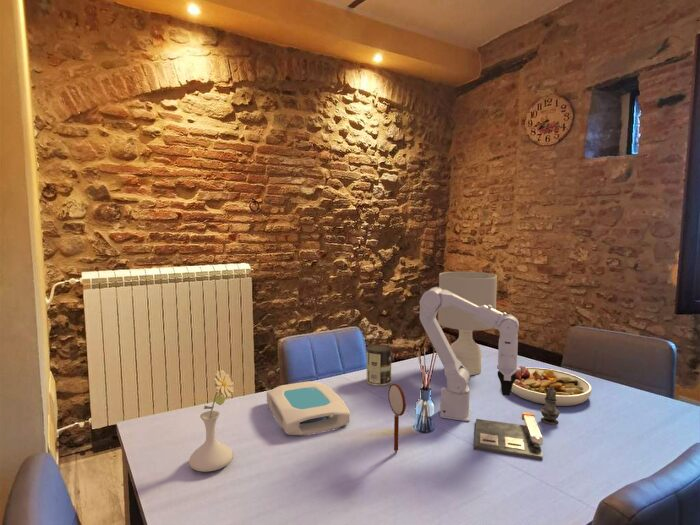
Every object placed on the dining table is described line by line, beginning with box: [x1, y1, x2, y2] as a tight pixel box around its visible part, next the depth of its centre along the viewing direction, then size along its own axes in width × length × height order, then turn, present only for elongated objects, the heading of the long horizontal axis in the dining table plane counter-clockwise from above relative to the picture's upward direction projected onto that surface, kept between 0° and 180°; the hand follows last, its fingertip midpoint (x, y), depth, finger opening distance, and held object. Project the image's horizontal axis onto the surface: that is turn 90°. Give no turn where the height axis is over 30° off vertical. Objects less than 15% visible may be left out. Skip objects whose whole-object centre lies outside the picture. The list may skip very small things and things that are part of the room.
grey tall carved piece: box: [539, 386, 561, 426], centre depth 140 cm, size 6×6×12 cm
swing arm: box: [521, 411, 544, 446], centre depth 130 cm, size 18×4×2 cm, turn 166°
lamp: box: [437, 271, 498, 376], centre depth 188 cm, size 24×24×42 cm
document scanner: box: [266, 380, 351, 437], centre depth 145 cm, size 21×28×6 cm
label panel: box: [473, 418, 544, 461], centre depth 129 cm, size 18×18×2 cm
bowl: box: [511, 365, 592, 407], centre depth 165 cm, size 30×30×8 cm
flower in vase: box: [188, 369, 234, 473], centre depth 115 cm, size 13×11×25 cm
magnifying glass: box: [387, 383, 407, 454], centre depth 120 cm, size 9×2×20 cm, turn 23°
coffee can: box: [365, 344, 392, 387], centre depth 175 cm, size 10×10×14 cm
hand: (506, 394), depth 138 cm, fingers closed
